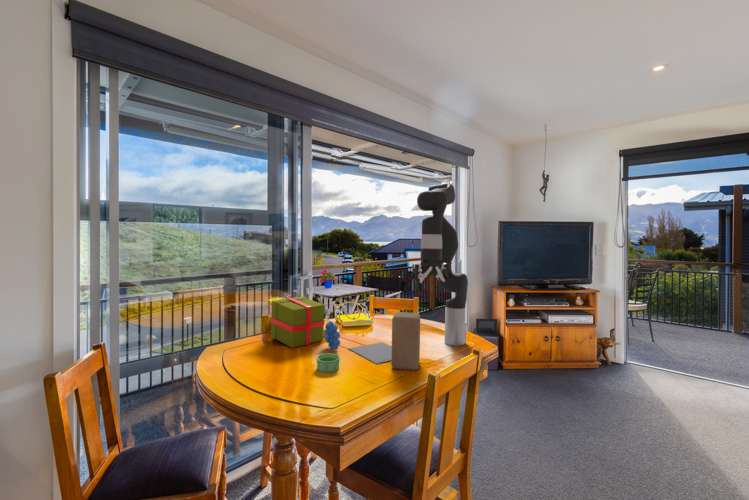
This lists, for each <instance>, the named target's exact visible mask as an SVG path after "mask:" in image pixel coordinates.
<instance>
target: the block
mask: <svg viewBox="0 0 749 500" xmlns="http://www.w3.org/2000/svg"><path fill="white" fill-rule="evenodd" d="M420 344H421V314H420V313H418V312H406V311H401V312H400V311H397V312H395V313H394V314H393V316H392V319H391V346H392V361H391V365H390V366H391V368H392V369H397V370H398V369H399V370H409V371H417V370H418V368H419V365H420V355H421V351H420V350H421V348H420V347H421V345H420Z"/></svg>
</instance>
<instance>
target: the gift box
mask: <svg viewBox="0 0 749 500" xmlns="http://www.w3.org/2000/svg"><path fill="white" fill-rule="evenodd" d="M325 305H326V304H323V303H321V302H318V301H315V300H312V299H310V298H309V297H306V296H299V297H286V298H283V299H277V300H276V299H275V300H272V302H271V316H270V324H271V325H270V326H271V327H270V338H272V339H273V340H277V341H279V342H280V343H282V344H284V345H286V346H288V347H289V348H292V349H293V348H297V347H300V346H308V345H311V344H313V343H316V342H320V341H323V340H324V329H325V321H326V320H325V307H326V306H325Z"/></svg>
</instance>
